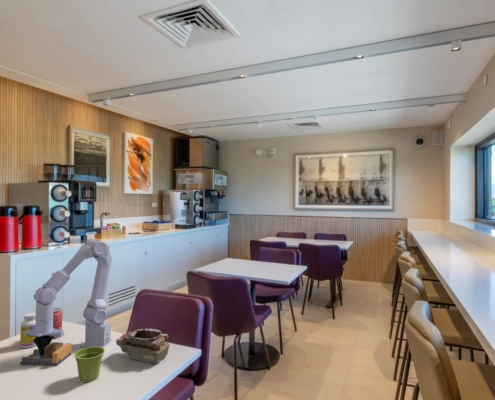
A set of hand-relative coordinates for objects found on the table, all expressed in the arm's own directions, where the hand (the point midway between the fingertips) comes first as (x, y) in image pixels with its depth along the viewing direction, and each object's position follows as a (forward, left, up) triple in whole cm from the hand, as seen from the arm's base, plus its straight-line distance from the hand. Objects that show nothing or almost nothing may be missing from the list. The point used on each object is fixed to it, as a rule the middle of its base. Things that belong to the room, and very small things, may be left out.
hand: (43, 355), depth 124 cm
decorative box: (-36, -2, -2) cm, 36 cm away
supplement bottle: (+14, -12, -2) cm, 18 cm away
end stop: (-7, 0, -2) cm, 7 cm away
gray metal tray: (-1, 0, -2) cm, 2 cm away
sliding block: (-4, 0, -1) cm, 4 cm away
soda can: (+10, -21, -2) cm, 23 cm away
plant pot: (-24, +12, -2) cm, 27 cm away
